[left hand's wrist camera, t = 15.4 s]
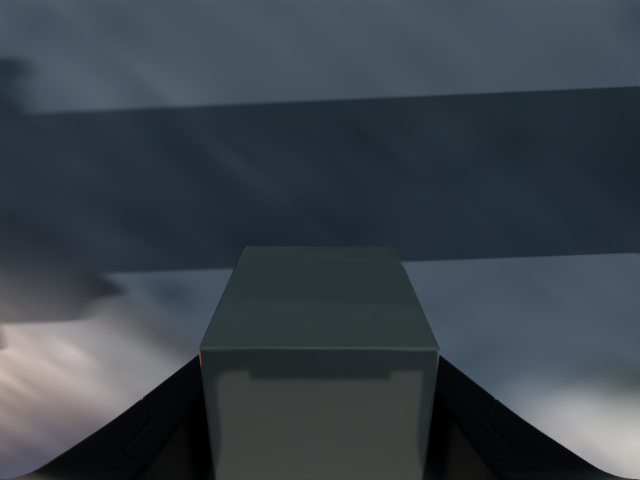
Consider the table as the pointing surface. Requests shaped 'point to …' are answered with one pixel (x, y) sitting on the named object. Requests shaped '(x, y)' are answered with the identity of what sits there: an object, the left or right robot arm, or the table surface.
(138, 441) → the left robot arm
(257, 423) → the block
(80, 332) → the table surface
